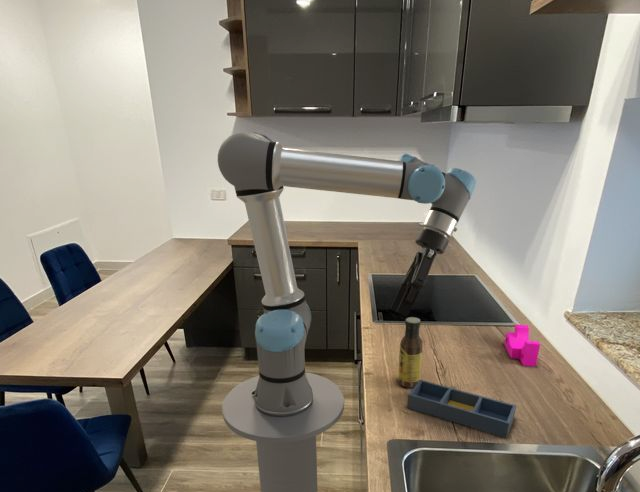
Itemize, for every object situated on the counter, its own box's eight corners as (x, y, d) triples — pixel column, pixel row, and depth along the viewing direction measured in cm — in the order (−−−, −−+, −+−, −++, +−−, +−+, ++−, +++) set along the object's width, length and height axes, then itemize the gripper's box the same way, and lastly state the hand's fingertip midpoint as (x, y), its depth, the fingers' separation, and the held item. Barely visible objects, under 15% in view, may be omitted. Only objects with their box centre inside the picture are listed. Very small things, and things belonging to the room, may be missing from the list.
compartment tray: (407, 407, 116) (408, 394, 114) (419, 392, 123) (420, 379, 121) (506, 438, 104) (509, 423, 102) (513, 419, 111) (516, 405, 109)
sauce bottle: (399, 376, 131) (403, 313, 123) (420, 379, 129) (426, 315, 121) (396, 387, 125) (400, 322, 117) (418, 390, 123) (423, 324, 115)
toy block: (504, 344, 151) (507, 324, 148) (523, 345, 150) (527, 325, 147) (514, 365, 137) (518, 343, 134) (535, 366, 136) (540, 344, 133)
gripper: (463, 234, 96) (420, 323, 98) (438, 244, 120) (404, 315, 122) (432, 219, 95) (389, 308, 97) (413, 233, 120) (379, 304, 122)
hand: (397, 312), depth 110 cm, fingers open, 13 cm apart
